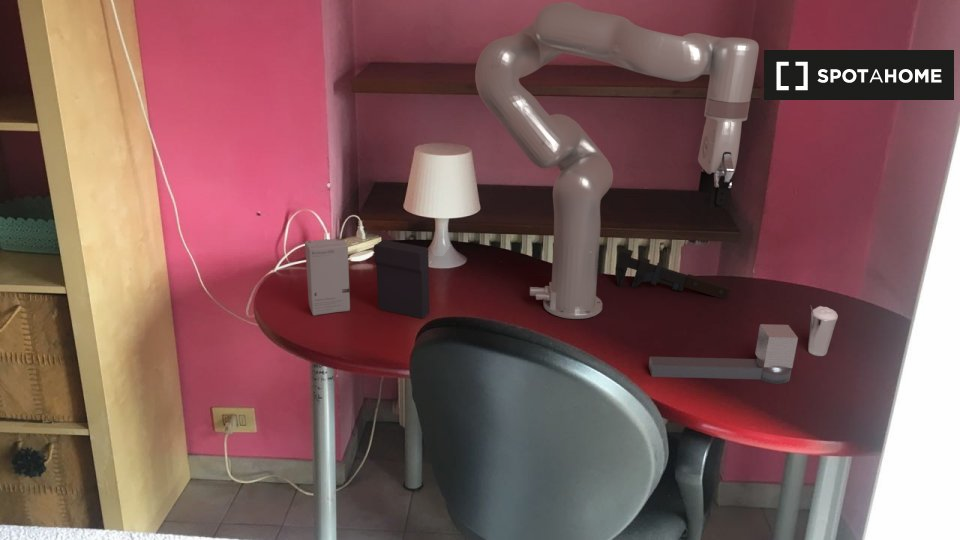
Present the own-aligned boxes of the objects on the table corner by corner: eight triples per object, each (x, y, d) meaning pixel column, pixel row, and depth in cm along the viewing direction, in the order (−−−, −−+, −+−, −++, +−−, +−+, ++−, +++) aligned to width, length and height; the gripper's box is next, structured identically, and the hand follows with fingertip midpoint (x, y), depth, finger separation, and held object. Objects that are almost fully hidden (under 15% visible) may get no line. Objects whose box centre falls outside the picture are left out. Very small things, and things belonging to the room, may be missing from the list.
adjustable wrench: (718, 318, 170) (610, 284, 174) (718, 313, 172) (612, 279, 177) (731, 286, 166) (620, 251, 171) (731, 281, 169) (622, 247, 173)
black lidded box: (431, 312, 161) (430, 246, 155) (421, 320, 157) (420, 253, 151) (387, 302, 165) (384, 238, 159) (376, 310, 161) (373, 244, 155)
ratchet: (652, 380, 136) (656, 348, 133) (647, 364, 141) (650, 333, 139) (794, 384, 135) (800, 352, 132) (783, 367, 140) (789, 336, 138)
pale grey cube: (763, 367, 134) (769, 337, 132) (755, 353, 139) (760, 324, 137) (792, 368, 134) (798, 337, 132) (782, 354, 139) (788, 324, 136)
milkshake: (796, 347, 147) (804, 300, 144) (822, 346, 148) (832, 299, 144) (807, 358, 143) (816, 310, 139) (834, 357, 144) (844, 309, 140)
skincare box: (312, 316, 158) (306, 250, 153) (308, 305, 164) (302, 240, 158) (352, 310, 161) (348, 245, 155) (347, 299, 166) (342, 235, 161)
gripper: (695, 99, 145) (683, 185, 152) (716, 118, 129) (701, 213, 136) (735, 101, 145) (721, 187, 152) (761, 120, 129) (744, 215, 136)
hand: (712, 199), depth 144 cm, fingers open, 9 cm apart
